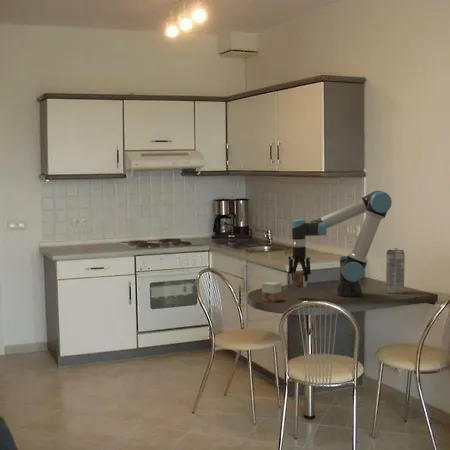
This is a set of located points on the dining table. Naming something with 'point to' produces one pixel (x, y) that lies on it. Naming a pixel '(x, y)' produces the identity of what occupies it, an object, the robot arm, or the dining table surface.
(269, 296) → the tower base
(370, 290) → the dining table surface
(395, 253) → the juice carton
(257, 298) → the dining table surface
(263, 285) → the tower top
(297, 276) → the block
